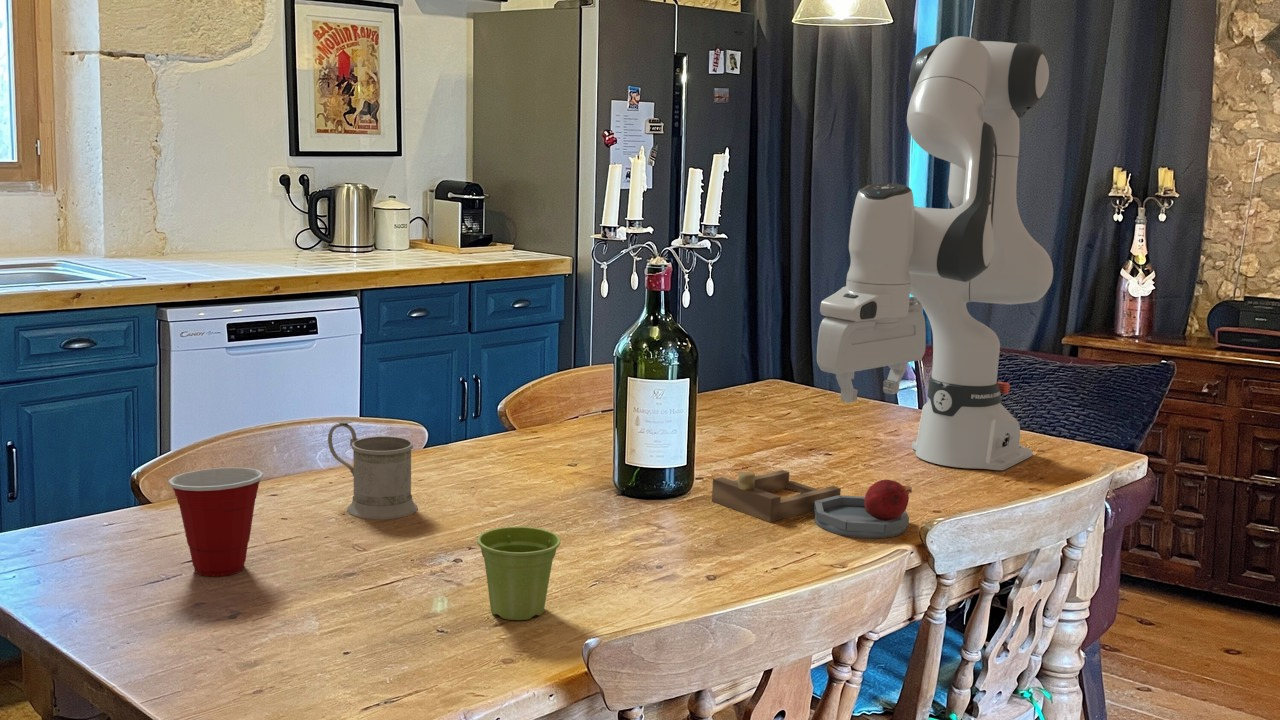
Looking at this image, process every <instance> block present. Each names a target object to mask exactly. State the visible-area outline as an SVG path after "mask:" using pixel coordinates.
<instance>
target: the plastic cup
mask: <svg viewBox="0 0 1280 720" xmlns="http://www.w3.org/2000/svg"><path fill="white" fill-rule="evenodd" d="M263 476H264V472H262V471H261V470H260V469H255V468H249V467H215V468H205V469H198V470H193V471H189V472H183V473H181V474H177V475H175V476H172V477H171V478H170V479H169V480H168V481H167V483H168V484H169V486H170V487H172V490H173V491H174V495H175V497H176V500H177V504H178V506H179V509H180V514H181V519H182V523H183V529H184V533H185V537H186V542H187V545H188V548H189V553H190V558H191V562H192V566H193V567H194V568H193V569H194V571H195V572H196V574H198V575H201V576H205V577H225V576H232V575H233V574H238V573H239V572H241V571H243V569H244V567H245V563H246V560H247V553H248V545H249V541H250V538H251V530H252V524H253V519H254V518H253V517H254V512H255V511H254V510H255V505H256V504H255V503H256V499H257V495H258V494H257V493H258V490H259V485H260V482H261V480H262V479H263Z"/></svg>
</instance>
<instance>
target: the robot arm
mask: <svg viewBox="0 0 1280 720" xmlns="http://www.w3.org/2000/svg"><path fill="white" fill-rule="evenodd" d="M1049 69H1050V68H1049V64H1048V59H1047V55H1046V53H1045V51H1044V50H1043V49H1042V48H1041V46H1040V45H1037V44H1034V43H1030V42H1023V41H1019V42H1017V43H1015V42H1008V41H1007V42H1005V41H995V40H994V41H993V40H992V41H991V40H980V41H979V40H977V39H976V38H973V37H969V36H963V35H962V36H961V35H958V36H952V37H949V38H947V39H944V40H943V41H942V42H940V43H938V44H933V45H929V46H926V47H923V48H922V49H920V51H919V52H917V54H916V55H915V56H914V58H913V59H912V62H911V66H910V71H909V79H908V80H909V90H910V93H911V97H910V100H909V104H908V108H907V115H906V124H907V128H908V131H909V134H910V136H911V137H912V139H913V140H914V142H915V143H916V144H917V145H918V146H919V147H920V148H921V149H923V151H925V152H926V153H928V154H929V155H931V156H933V157H934V158H937V159H940V160H943V161H945V162H946V161H947V162H949V164H950V167H949V177H948V186H947V187H948V188H947V197H948V200H949V202H950V204H951V206H952V207H953V208H938V207H937V208H936V207H935V208H934V207H923V206H915V204H914V201H915V200H914V194H913V190H912V188H910V187H909V186H907V185H904V184H900V183H895V182H894V183H892V182H883V183H882V182H881V183H873V184H869V185H865V186H864V187H862V188H859V190H858V192H857V195H856V197H855V200H854V201H855V202H854V206H853V211H852V216H851V219H850V220H851V221H850V227H849V228H850V229H849V237H848V251H849V255H850V265H849V268H848V270H847V274H846V283H845V286H842V287H841V288H840V289H839V290H838V291H836V292H835V293H833V294H832V295H829V296H828V297H825V298H824V299H823V300H821V302H820V306H819V312H820V315H822V316H824V318H822V319H821V320H822V321H820V324H819V329H818V333H817V334H818V336H817V346H816V362H817V363H816V364H817V366H818V368H819V369H820V371H822V372H825V373H829V374H832V375H835V379H836V381H837V383H838V386H839V388H840V401H841V402H844V403H847V404H849V403H854V402H856V401H857V400H858V396H857V395H858V393H859V392H858V391H859V390H858V389H855V388H854V386H853V382H852V380H854V379H855V372H860V371H864V370H865V371H866V370H871V369H877V368H882V367H884V368H885V367H887V366H888V368H889V369H890V370H889V373H888V375H887V379H885V380H883V383H882V384H883V388H882V391H883V393H884V394H888V395H895V394H898V393H899V392H900V382H901V380H902V379H903V378H904V377H903V376H904V375H905V372H906V370H907V364H908V363H912V362H917V361H921V360H922V359H923V357H924V355H925V353H926V345H927V344H926V342H927V341H926V339H927V337H926V336H927V335H926V331H927V330H926V320H925V315H926V317H927V318H928V321H929V323H930V328H931V333H932V352H933V353H932V368H931V376H929V379H928V383H927V388H926V389H927V398H928V400H927V402H926V403H925V404H924V405H923V406H922V409H921V410H922V411H921V415H920V420H919V425H918V431H917V437H916V440H914V441H913V440H912V442H911V448H912V449H913V450H914V451H915V452H914V453H915V456H916V457H917V458H919V459H921V460H923V461H926V462H929V463H932V464H937V465H940V466H945V467H952V468H962V469H980V470H981V469H984V470H992V471H993V470H994V471H1005V470H1007V469H1009V468H1010V467H1013V466H1015V465H1017V464H1019V463H1021V462H1023V461H1025V460H1027V459H1029V458H1031V457H1032V456H1033V450H1032V449H1030V448H1028V447H1026V446H1023V445H1021V444H1020V441H1021V439H1020V438H1021V426H1020V422H1019V421H1018V420H1017V419H1016V418H1015V417H1014V416H1013V415H1012V414H1011V413H1010V412H1009V411H1008V410H1007V409H1006V407H1005V406H1003V404H1002V403H1001V402H1002V396H1001V394H1003V395H1009V392H1010V391H1011V390H1010V389H1011V385H1010V383H1009V382H1003V381H997V380H998V370H999V360H1000V349H1001V343H1000V339H999V336H998V335H997V333H996V332H995V331H994V330H993V329H992V328H991V327H988V326H987V325H986V324H984V323H983V322H981V321H979V320H977V319H976V318H974V317H973V316H972V315H971V314H970V313H969V311H968V308H967V303H971V302H972V303H973V302H974V303H982V304H983V303H985V304H996V305H997V304H998V305H1020V304H1021V305H1022V304H1030V303H1037V302H1039V301H1040V299H1042V298H1044V296H1045V295H1046V294H1047V292H1048V290H1049V289H1050V288H1051V286H1052V282H1053V279H1054V278H1053V277H1054V266H1053V261H1052V259H1051V257H1050V255H1049V254H1048V252H1047V250H1046V249H1045V248H1044V247H1043V246H1042V245H1041V244H1040V243H1039V242H1037V241H1036V240H1035V239H1034V238H1033V237H1032V235H1031V234H1030V232H1028V230H1027V229H1026V227H1025V226H1024V225H1025V224H1024V223H1023V221H1022V219H1021V216H1020V213H1019V206H1018V202H1017V201H1018V200H1017V188H1018V186H1017V182H1018V181H1017V180H1018V179H1017V178H1018V166H1019V155H1020V140H1021V139H1020V135H1021V134H1020V119H1021V118H1023V117H1024V116H1025V115H1026V113H1027V112H1028V111H1030V110H1032V109H1034V107H1036V106H1037V105H1038V103H1040V101H1041V100H1042V99H1043V97H1044V95H1045V91H1046V90H1047V86H1048V84H1049V80H1050V79H1049V78H1050V70H1049ZM910 296H911V297H910ZM923 311H924V312H925V315H924V313H923Z"/></svg>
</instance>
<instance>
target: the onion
mask: <svg viewBox="0 0 1280 720" xmlns="http://www.w3.org/2000/svg"><path fill="white" fill-rule="evenodd" d="M912 491H913V488H912V486H910V485H902V483H900V482H898V481H896V480H892V479H881V480H878V481H877V482H875V483H873V484H871V485H870V486H869V487H868V489H867V490H866V493H865V495H864V497H865V501H864V504H865V510H866V512H867V513H868V514H870V515H871V516H872V517H874V518H876V519H879V520H884V521H887V520H891V519H895V518H898V517H899V516H900V515H902V514H903V513H904V511H905V510H907V507H908V504H909V499H910V497H909V494H912Z"/></svg>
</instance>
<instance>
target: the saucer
mask: <svg viewBox="0 0 1280 720" xmlns="http://www.w3.org/2000/svg"><path fill="white" fill-rule="evenodd" d="M864 501H865V496H858V495H841V494H840V495H837V496H833V497H829V498H825V499H821V500H817V501H815V503H814V511H813V512H814V523H815V524H816V525H817V526H818V527H820V528H821V529H822V530H825V531H826V532H830V533H833V534H836V535H839V536H844V537H849V538H856V539H868V540H869V539H870V540H872V539H873V540H874V538H875V539H876V538H881V539H886V538H885V537H890V538H893V537H892V536H895V537H897V535H898V536H900V535H902V534H904V533H905V532H906V529H907V527H909V524H910V523H909V521H910V517H909V514H908V512H907V511H906V510H907V509H906V510H905V511H904V513H903V514H902V515H900V516H899V517H898V518H895V519H891V520H887V521H884V520H879V519H876V518H874V517H872V516H871V515H870V514H868V513H867V512H866V510H865V504H864ZM904 531H905V532H904ZM903 532H904V533H903ZM901 533H902V534H901Z"/></svg>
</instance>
